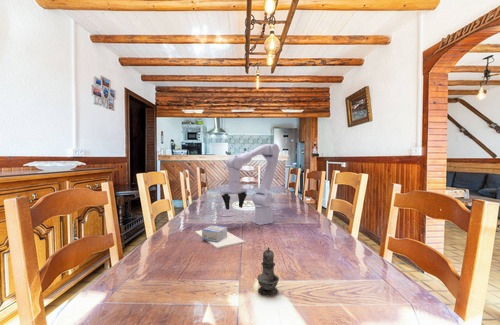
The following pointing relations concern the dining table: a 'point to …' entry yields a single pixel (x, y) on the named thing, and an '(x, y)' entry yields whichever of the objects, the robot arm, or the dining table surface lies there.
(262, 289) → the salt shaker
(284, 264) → the dining table surface
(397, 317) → the dining table surface
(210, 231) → the medicine box
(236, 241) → the mat
